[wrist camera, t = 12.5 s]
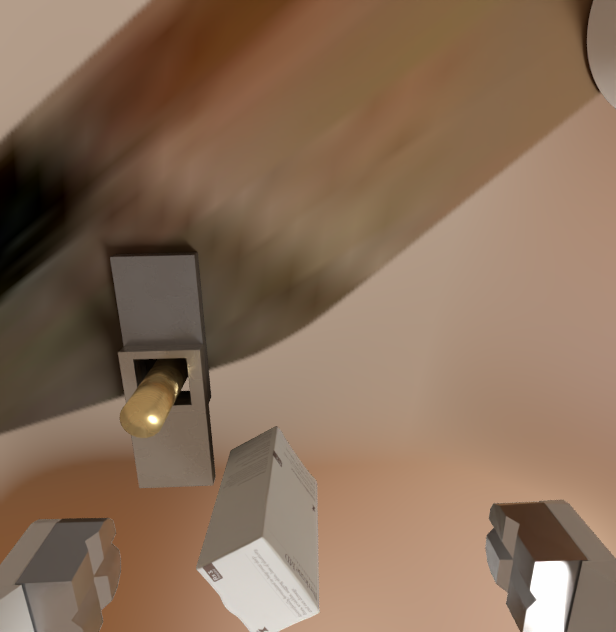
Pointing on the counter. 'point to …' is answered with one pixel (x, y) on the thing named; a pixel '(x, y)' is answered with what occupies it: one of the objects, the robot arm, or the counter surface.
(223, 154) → the counter surface
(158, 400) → the pin
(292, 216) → the counter surface
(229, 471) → the skincare box
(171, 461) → the bar with square hole
